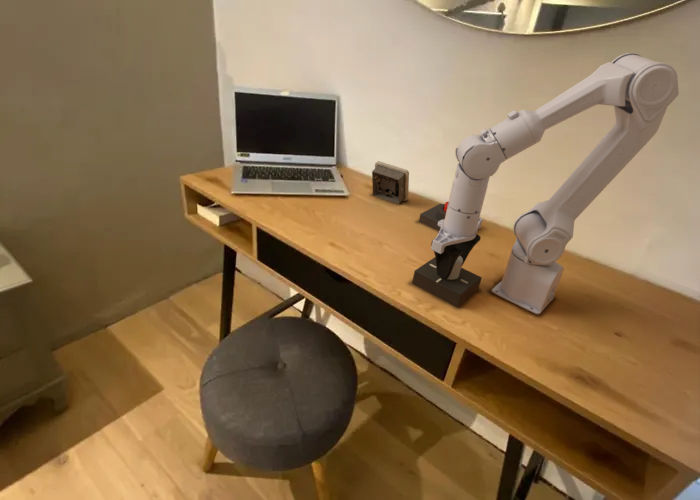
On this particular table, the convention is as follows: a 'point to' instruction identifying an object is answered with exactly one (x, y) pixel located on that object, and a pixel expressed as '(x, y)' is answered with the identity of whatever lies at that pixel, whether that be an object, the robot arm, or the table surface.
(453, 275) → the dial
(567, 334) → the table surface
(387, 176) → the electrical switch
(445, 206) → the power button
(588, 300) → the table surface
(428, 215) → the button block
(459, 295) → the dial panel
